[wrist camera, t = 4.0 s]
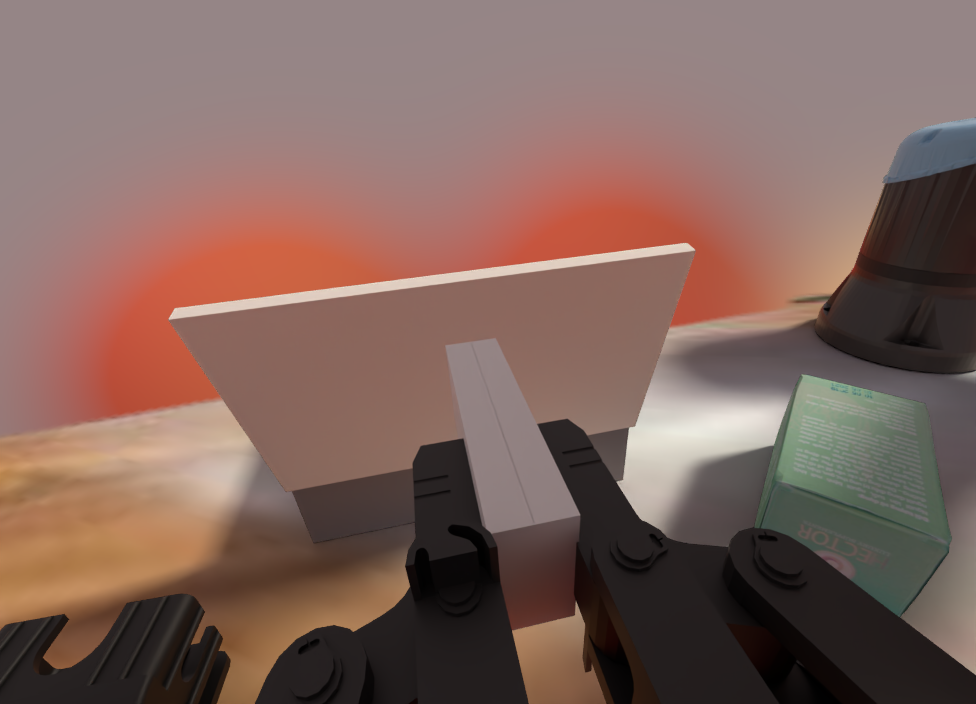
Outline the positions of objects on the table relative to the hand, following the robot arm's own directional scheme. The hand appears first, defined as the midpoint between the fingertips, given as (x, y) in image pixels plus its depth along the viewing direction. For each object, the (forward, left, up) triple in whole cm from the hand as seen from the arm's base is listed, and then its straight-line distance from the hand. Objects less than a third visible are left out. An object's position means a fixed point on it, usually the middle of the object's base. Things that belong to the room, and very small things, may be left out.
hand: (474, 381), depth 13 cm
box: (-24, -5, -19) cm, 31 cm away
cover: (0, -10, -6) cm, 12 cm away
